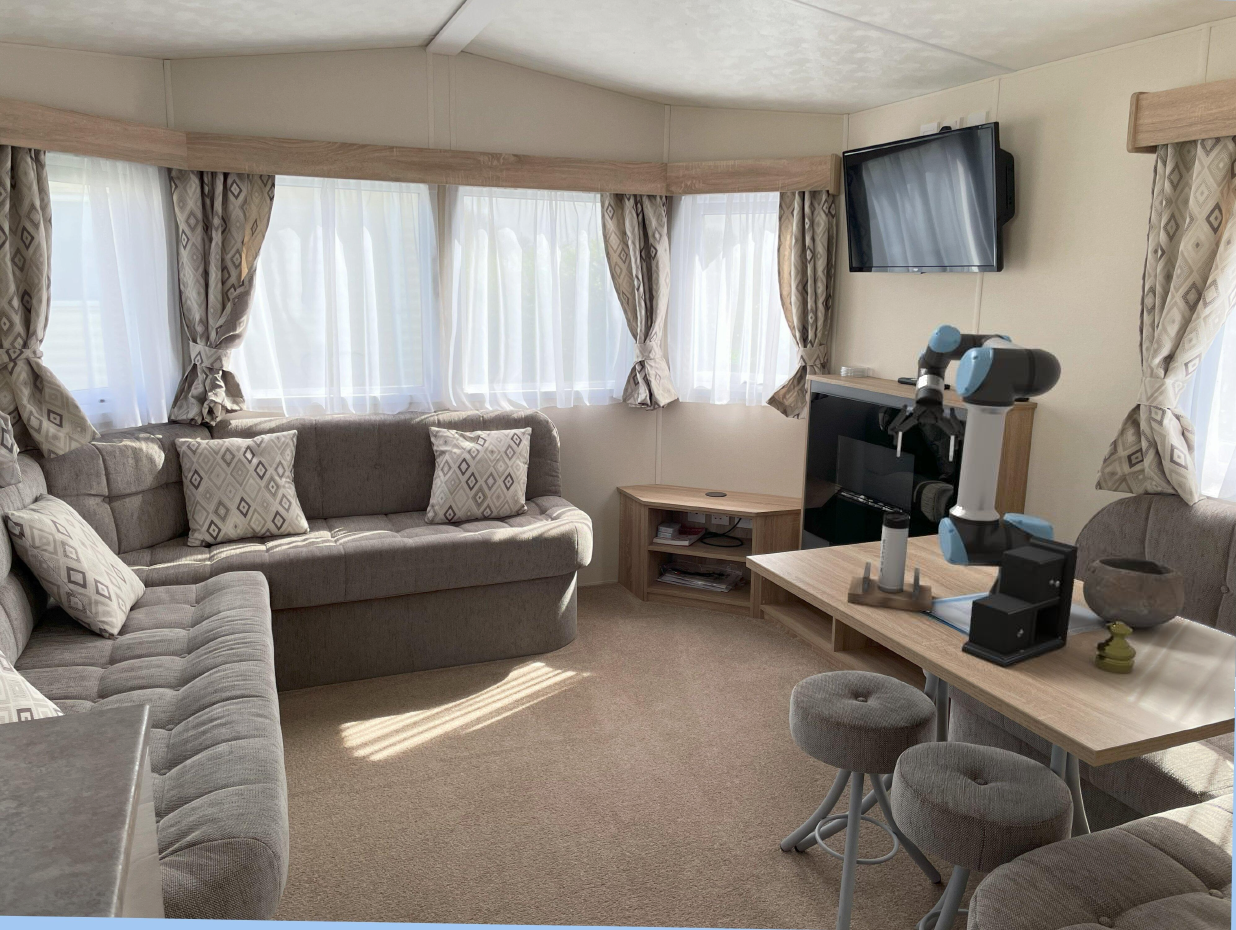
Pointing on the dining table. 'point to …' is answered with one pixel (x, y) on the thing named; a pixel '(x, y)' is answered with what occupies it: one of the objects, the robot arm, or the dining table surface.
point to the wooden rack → (908, 599)
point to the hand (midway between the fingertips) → (924, 456)
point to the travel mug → (893, 551)
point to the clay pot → (1133, 591)
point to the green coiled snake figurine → (1116, 650)
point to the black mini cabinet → (1025, 605)
